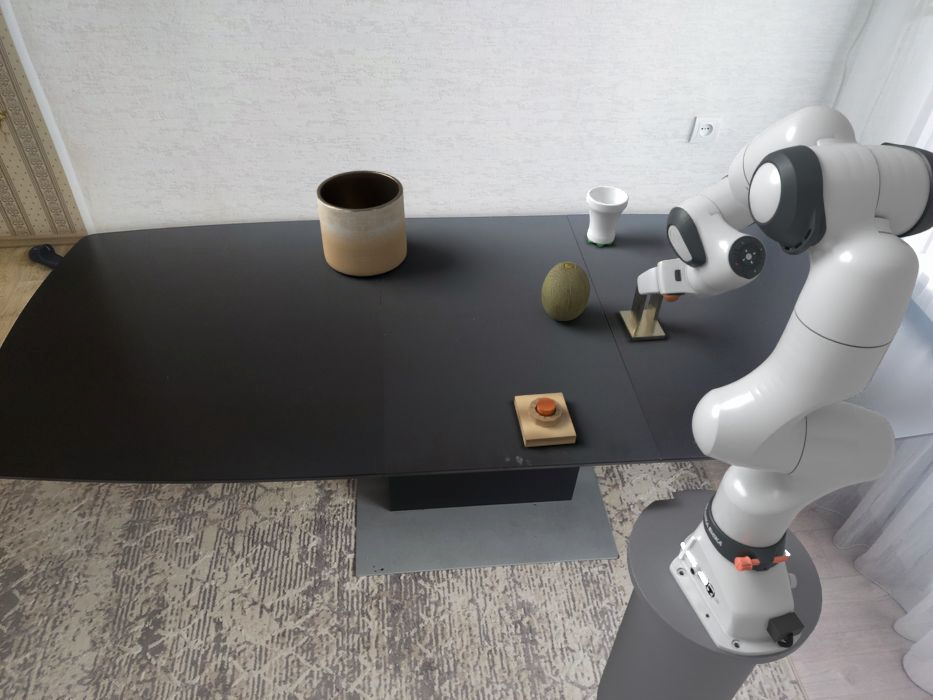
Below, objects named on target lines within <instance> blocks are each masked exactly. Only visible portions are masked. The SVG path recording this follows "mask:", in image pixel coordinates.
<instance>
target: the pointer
mask: <svg viewBox="0 0 933 700" xmlns="http://www.w3.org/2000/svg"><path fill="white" fill-rule="evenodd" d="M680 297H681V296H678V295H663V299H664V300H665V301H666V302H668V303H674V302H676V301H678V300H679V299H680Z"/></svg>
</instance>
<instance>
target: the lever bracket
mask: <svg viewBox="0 0 933 700" xmlns="http://www.w3.org/2000/svg"><path fill="white" fill-rule="evenodd" d="M640 275H641V274H639V275H638V277H639V276H640ZM647 298H648V294H646V295H641V294H640V293H639V291H638V282H637V283H636V287H635V291H634V296H633V298H632V299H633V300H632V304H631V309H630V310H620V311H619V312H618V316H619V319H620V321H621V322H622V325H623V326H624V329H625V331H626V333H627V334H628V337H629V339H630V341H631V342H639V341H640V342H641V341H653V340H665V337H666V333H665V332H664V330H663V328H662V327H661V325H660V323H659V321H658V319H659V314H660V311H661V306H662V303H663V299H664V297H663V295H661V293H658V294H649V300H648V304H647V306H646V301H647ZM645 306H646V307H647V308H646V309H645Z"/></svg>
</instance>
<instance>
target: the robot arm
mask: <svg viewBox="0 0 933 700" xmlns="http://www.w3.org/2000/svg"><path fill="white" fill-rule="evenodd" d="M754 224H755V225H756V226H757V227H758V228H759V229H760V230H761V231H762V233H763V234H764V235H765V236H766V237H767V238H769V239H771V240H772V241H774V242H776V243H778V244H779V246H780V248H781V250H782V252H783V253H785V254H788V255H789V256H799V255H801V254H803V253H805V252H807V255H808V257H809V270H808V274H807V277H806V281H805V282H804V285H803V286H802V289H801V291H800V293H799V295H798V298H797V300H796V302H795V304H794V307H793V310H792V311H791V314H790V317H789V319H788V321H787V324H786V325H785V328H784V330H783V332H782V334H781V336H780V338H779V340H778V342H777V344H776V346H775V348H774V349H773V351H772V352H771V353H770V355H769V356H768V357H767V358H766V359H764V361H763V362H762V363H761V364H760V365H758V366H756V368H755V369H753V370H752V371H751V372H749V373H748V374H746V375H744V376H743V377H741V378H740V379H737V380H736V381H733V382H731V383H729V384H725V385H723V386H720V387H717V388H713V389H711V390H710V391H707V392H706V393H705V394H704V395H703V396H702V397H701V399H700V400H699V402H698V403H697V405H696V407H695V409H694V411H693V414H692V419H691V431H692V435H693V438H694V441H695V443H696V446H697V447H698V448H699V450H700V451H701V453H702V454H703V455H705V456H706V457H709V458H710V459H714V460H717V461H720V462H722V463H724V464H725V463H726V464H728V465H730V466H729V467H728V469H727V470H725V472H724V475H723V476H722V478H721V481H720V484H719V486H718V488H717V490H716V491H717V492H716V493H715V494H714V495H713V496H712V498H711V499H710V501H709V503H708V504H707V506H706V508H705V512H704V515H703V520H702V522H701V523H700V524H699V526H698V527H697V529H696V530H695V531H694V532H693V533H691V534H690V535H689V536H688V537H687V538H686V539H685V540H684V542H683V543H681V549H680V553H679V555H678V556H677V557H676V558H675V559H674V560H673V562H672V563H671V564H670V567H669V569H670V572H671V573H672V575H673V577H674V578H675V580H676V582H677V583H678V585H679V586H680V588H681V590H682V591H683V593H684V595H685V596H686V598H687V599H688V601H689V603H690V604H691V606H692V608H693V609H694V611H695V612H696V614H697V616H698V617H699V619H700V621H701V622H702V624H703V625H704V627H705V629H706V630H707V632H708V633H709V635H710V637H711V638H712V640H713V642H714V643H715V644H716V646H717V647H718V648H719V649H721V650H724V651H726V652H729V653H732V654H737V655H744V656H759V655H768V654H774V653H778V652H781V651H784V650H786V649H788V648H790V647H792V646H793V645H794V644H795V643H796V642H797V641H798V640H799V638H800V636H801V631H802V630H803V628H804V627H805V626H804V625H803V624H802V622H801V621H800V619H799V618H798V616H797V615H796V614H795V612H794V601H793V596H792V591H791V589H794V588H796V586H797V579H796V576H795V575H794V574H792V573H787V568H786V564H785V561H787V560H788V559H787V558H789V556H790V554H789V553H788V552H787V551H786V550H785V542H786V538H787V528H788V529H789V527H790V525H791V524H792V523H793V521H794V520H795V518H796V517H797V516H798V514H800V512H801V511H802V510H803V509H805V508H806V507H807V506H808V505H809V506H810V504H812V503H813V502H815V501H817V500H819V499H821V498H822V497H824V496H827V495H828V494H830V493H833V492H835V491H837V490H840V489H843V488H846V487H849V486H852V485H853V486H854V485H856V484H857V485H858V484H862V483H866V482H873V481H875V480H878V479H879V478H880V477H881V476H883V475H884V474H885V473H886V472H887V471H888V469H889V468H890V466H891V465H892V463H893V460H894V458H895V454H896V448H897V447H896V446H897V445H896V436H895V433H894V430H893V428H892V426H891V424H890V422H889V421H888V419H887V418H886V416H884V415H883V414H882V413H880V412H879V411H875V410H873V409H869V408H867V407H863V406H861V405H858V404H854V403H852V402H848V401H846V400H849V399H851V398H853V397H855V396H857V395H859V394H860V393H862V391H864V390H865V389H866V388H867V387H868V386H869V385H870V383H871V382H872V380H873V378H874V377H875V375H876V373H877V370H878V368H879V366H880V365H881V363H882V362H883V360H884V357H885V356H886V353H887V352H888V350H889V348H890V347H891V344H892V342H893V341H894V339H895V337H896V335H897V333H898V331H899V329H900V327H901V325H902V323H903V321H904V318H905V316H906V313H907V311H908V308H909V305H910V303H911V300H912V297H913V294H914V291H915V288H916V285H917V284H916V283H917V280H918V275H919V272H920V261H919V258H918V255H917V253H916V251H915V249H914V248H913V247H912V246H911V245H910V244H909V243H908V242H906V240H904V239H903V238H908V237H911V236H912V237H913V236H916V235H919V234H922V233H924V232H927V231H929V230H931V229H932V228H933V152H932V151H929V150H927V149H924V148H920V147H916V146H912V145H907V144H897V143H893V142H885V141H884V142H882V143H881V144H861V143H859V142H857V138H856V133H855V129H854V127H853V125H852V123H851V122H850V120H849V119H848V117H847V116H845V114H843V113H842V112H841V111H839V110H837V109H835V108H834V107H830V106H826V105H810V106H807V107H803V108H801V109H798V110H796V111H794V112H792V113H790V114H787V115H786V116H784V117H781V118H780V119H778V120H776V121H775V122H774V123H772V124H770V125H769V126H767V127H766V128H765V129H763V130H762V131H760V132H759V133H758V134H756V136H754V137H753V138H752V139H751V140H750V141H749V142H747V143H746V144H745V145H744V146H743V147H742V148H741V149H740V150H739V152H738V153H737V154H736V156H735V157H734V159H733V160H732V162H731V163H730V165H729V167H728V172H727V174H726V175H725V176H723V177H722V178H721V179H719V180H718V181H716V182H715V183H712V184H711V185H710V186H708V187H706V188H705V189H703V190H701V191H699V192H698V193H695V194H694V195H693V196H691V197H689V198H687V199H686V200H683V201H682V202H681V203H679V204H678V205H676V206H674V207H672V208H671V209H670V211H669V213H668V216H667V219H666V238H667V241H668V244H669V245H670V247H671V249H672V250H673V252H674V254H675V255H676V256H677V257H675V258H670V259H665V260H664V259H663V260H661V261H659V262H657V264H656V265H657V266H655V267H651V268H649V269H647V270H646V271H643V273H641V274H639V275H640V276H639V275H638V277H637V282H638V291H639V293H640V294H641V295H646V294H647V295H651V294H658V293H661V295H678V296H680V297H681V296H682V297H687V298H695V299H699V300H706V299H710V298H713V297H716V296H719V295H722V294H724V293H726V292H731V291H734V290H737V289H740V288H741V287H744V286H747V285H748V284H749V283H751V282H753V281H754V280H756V279H757V278H758V277H759V275H761V273H762V272H763V271H764V270H763V269H764V268H765V266H766V261H767V250H766V247H765V245H764V243H763V242H762V240H761V239H759V238H758V237H756V236H754V235H751V234H748V233H744V232H741V231H742V230H744V229H747V228H748V227H750V226H752V225H754ZM679 573H681V574H683V576H682V575H680V574H679ZM784 639H786V640H787V642H785V641H784ZM734 645H737V646H738V647H739V648H736V647H735V646H734Z"/></svg>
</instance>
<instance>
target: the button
mask: <svg viewBox="0 0 933 700" xmlns="http://www.w3.org/2000/svg"><path fill="white" fill-rule="evenodd" d="M554 411H555V402H554V401H553V400H551V399H549V398H542V399H540V400H539V401H538V402H537V413H538V414H539V415H541V416H544V417H549V416H552V415H553V414H554Z"/></svg>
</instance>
